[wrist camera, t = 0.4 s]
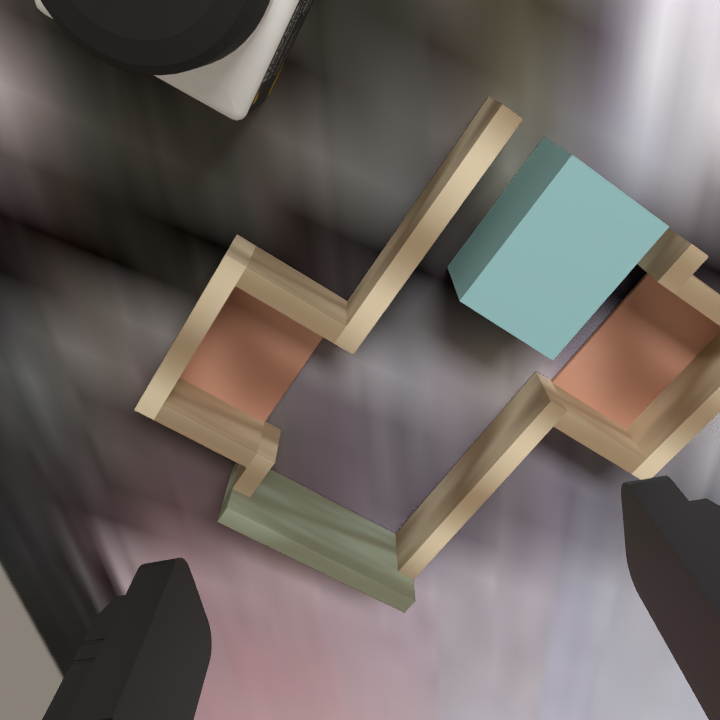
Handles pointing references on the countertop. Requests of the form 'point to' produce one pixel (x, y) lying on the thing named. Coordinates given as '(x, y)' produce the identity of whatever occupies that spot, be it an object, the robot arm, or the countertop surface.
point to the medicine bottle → (190, 42)
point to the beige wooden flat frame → (495, 445)
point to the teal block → (552, 249)
